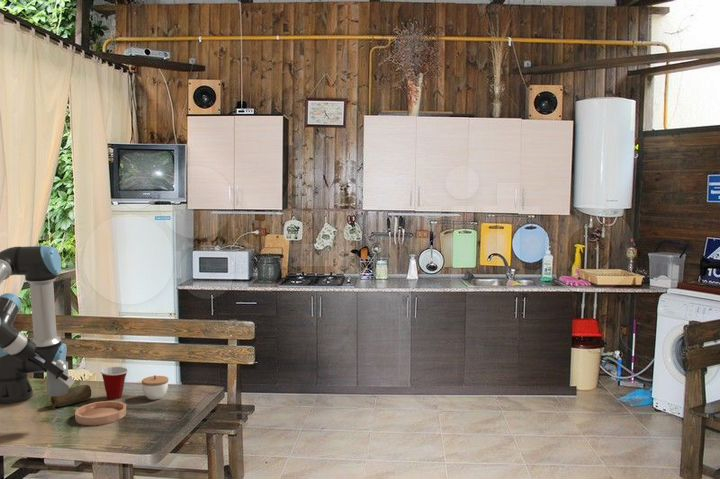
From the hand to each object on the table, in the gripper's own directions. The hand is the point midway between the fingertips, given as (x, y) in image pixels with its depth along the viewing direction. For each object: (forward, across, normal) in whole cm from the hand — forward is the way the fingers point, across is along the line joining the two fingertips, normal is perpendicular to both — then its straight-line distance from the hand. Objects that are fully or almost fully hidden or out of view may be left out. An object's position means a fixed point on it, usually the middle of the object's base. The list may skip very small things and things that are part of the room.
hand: (67, 381), depth 220 cm
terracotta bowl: (+20, +2, -3) cm, 20 cm away
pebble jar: (0, 0, -5) cm, 5 cm away
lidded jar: (+38, -3, +15) cm, 41 cm away
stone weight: (+20, -22, -4) cm, 30 cm away
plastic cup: (+31, -16, +7) cm, 35 cm away
